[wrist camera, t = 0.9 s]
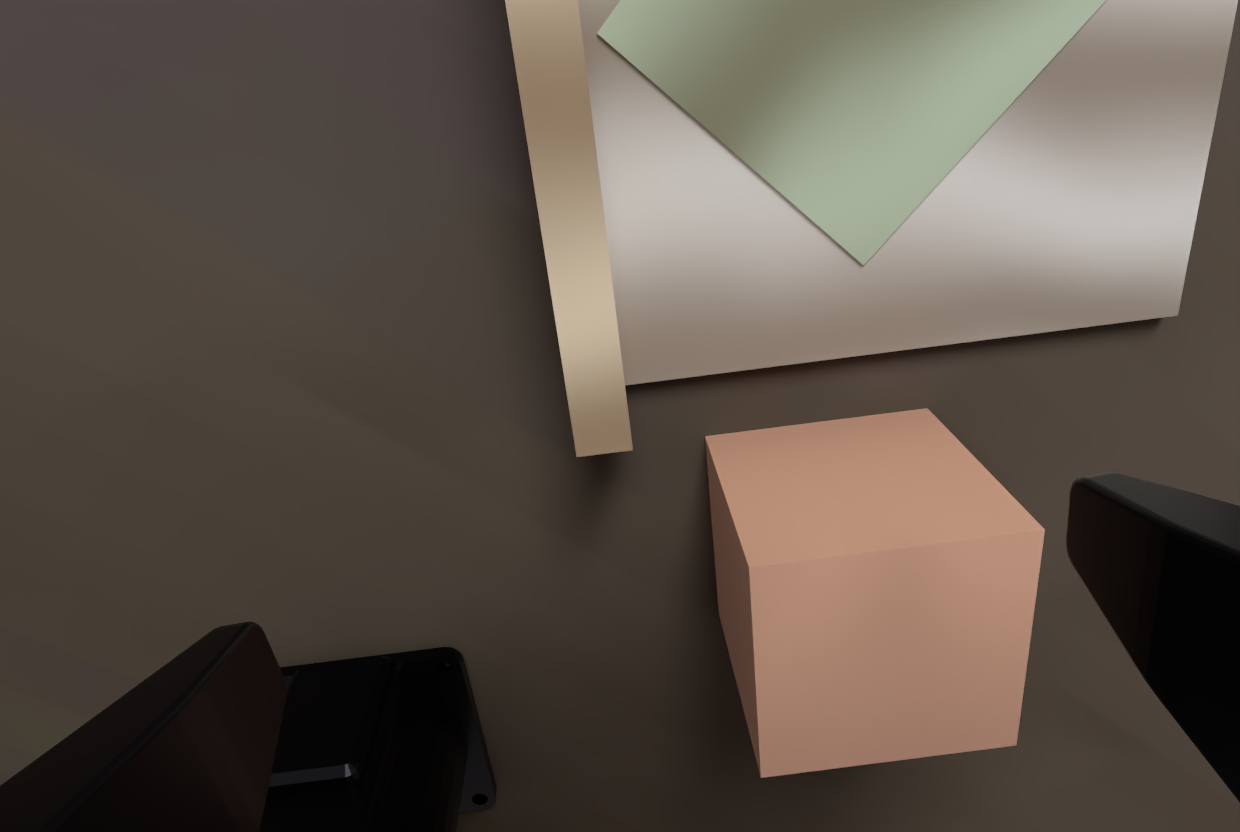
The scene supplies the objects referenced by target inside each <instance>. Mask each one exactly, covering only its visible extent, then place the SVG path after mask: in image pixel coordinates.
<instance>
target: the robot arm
mask: <svg viewBox="0 0 1240 832" xmlns="http://www.w3.org/2000/svg"><path fill="white" fill-rule="evenodd" d="M1066 550H1067V554H1068V557H1069V559H1070V562H1071V564H1072V565H1073V567H1074V569H1075V570H1076V572H1077V574H1078V575H1079V577H1080V578H1081V580H1082V582H1083V583H1084V585H1085V586H1086V588H1087V590H1088V591H1089V593H1090V594H1091V596H1092V598H1093V599H1094V601H1095V602H1096V604H1097V606H1098V607H1099V609H1100V610H1101V612H1102V614H1103V615H1104V617H1105V618H1106V620H1107V622H1108V623H1109V625H1110V626H1111V628H1112V630H1113V631H1114V633H1115V634H1116V636H1117V638H1118V639H1119V641H1120V642H1121V644H1122V646H1123V647H1124V649H1125V650H1126V652H1127V654H1128V655H1129V657H1130V658H1131V660H1132V662H1133V663H1134V664H1135V666H1136V667H1137V669H1138V670H1139V672H1140V673H1141V675H1142V676H1143V678H1144V679H1145V681H1146V682H1147V684H1148V685H1149V686H1150V688H1151V689H1152V690H1153V692H1154V693H1155V694H1156V696H1157V697H1158V698H1159V700H1160V701H1161V702H1162V704H1163V705H1164V706H1165V707H1166V709H1167V710H1168V711H1169V712H1170V714H1171V715H1172V716H1173V718H1174V719H1175V720H1176V721H1177V723H1178V724H1179V725H1180V727H1181V728H1182V729H1183V730H1184V732H1185V733H1186V734H1187V736H1188V737H1189V738H1190V739H1191V741H1192V742H1193V743H1194V744H1195V746H1196V747H1197V748H1198V750H1199V751H1200V752H1201V753H1202V755H1203V756H1204V757H1205V759H1206V760H1207V761H1208V762H1209V764H1210V765H1211V766H1212V768H1213V769H1214V770H1215V771H1216V773H1217V774H1218V775H1219V776H1220V778H1221V779H1222V780H1223V782H1224V783H1225V784H1226V785H1227V787H1228V788H1229V789H1230V791H1231V792H1232V793H1233V794H1234V796H1235V797H1236V798H1237V800H1238V801H1239V802H1240V506H1237V505H1233V504H1230V503H1226V502H1223V501H1219V500H1215V499H1212V498H1208V497H1205V496H1201V495H1198V494H1194V493H1190V492H1187V491H1183V490H1180V489H1176V488H1173V487H1169V486H1165V485H1162V484H1158V483H1155V482H1151V481H1148V480H1144V479H1140V478H1137V477H1133V476H1130V475H1126V474H1122V473H1119V472H1105V473H1100V474H1094V475H1088V476H1083V477H1079V478H1077V479H1076V480H1075V481H1074V482H1073V483H1072V485H1071V487H1070V492H1069V503H1068V516H1067V528H1066ZM441 663H448V664H449V665H451V666H449V667H444V666H442V665H440V664H441ZM495 798H496V784H495V780H494V776H493V772H492V768H491V765H490V761H489V757H488V753H487V749H486V745H485V741H484V737H483V733H482V730H481V726H480V722H479V718H478V714H477V710H476V706H475V702H474V699H473V695H472V691H471V687H470V683H469V679H468V675H467V671H466V667H465V664H464V660H463V657H462V655H461V653H459V652H458V651H457V650H455V649H453V648H450V647H441V648H433V649H426V650H418V651H410V652H402V653H394V654H386V655H378V656H370V657H362V658H354V659H346V660H338V661H330V662H322V663H314V664H306V665H298V666H290V667H282V668H280V667H279V665H278V662H277V660H276V658H275V656H274V653H273V651H272V649H271V647H270V644H269V642H268V640H267V638H266V635H265V633H264V631H263V630H262V628H261V627H260V626H259V625H258V624H256V623H254V622H244V623H238V624H232V625H226V626H221V627H218V628H215V629H214V630H212V631H211V632H209V633H208V634H207V635H205V636H204V637H203V638H201V639H200V640H199V641H197V642H196V643H194V644H193V645H192V646H190V647H189V648H188V649H186V650H185V651H184V652H182V653H181V654H179V655H178V656H177V657H175V658H174V659H173V660H171V661H170V662H169V663H167V664H166V665H164V666H163V667H162V668H160V669H159V670H158V671H156V672H155V673H154V674H152V675H151V676H149V677H148V678H147V679H145V680H144V681H143V682H141V683H140V684H139V685H137V686H136V687H134V688H133V689H132V690H130V691H129V692H128V693H126V694H125V695H124V696H122V697H121V698H119V699H118V700H117V701H115V702H114V703H113V704H111V705H110V706H109V707H107V708H106V709H104V710H103V711H102V712H100V713H99V714H98V715H96V716H95V717H93V718H92V719H91V720H89V721H88V722H87V723H85V724H84V725H83V726H81V727H80V728H78V729H77V730H76V731H74V732H73V733H72V734H70V735H69V736H68V737H66V738H65V739H63V740H62V741H61V742H59V743H58V744H57V745H55V746H54V747H53V748H51V749H50V750H48V751H47V752H46V753H44V754H43V755H42V756H40V757H39V758H38V759H36V760H35V761H33V762H32V763H31V764H29V765H28V766H27V767H25V768H24V769H23V770H21V771H20V772H18V773H17V774H16V775H14V776H13V777H12V778H10V779H9V780H8V781H6V782H5V783H3V784H2V785H1V786H0V832H456V830H457V824H458V817H459V813H463V812H471V811H479V810H484V809H488V808H490V807H491V806H493V804H494V803H495Z"/></svg>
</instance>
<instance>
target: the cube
mask: <svg viewBox="0 0 1240 832" xmlns="http://www.w3.org/2000/svg"><path fill="white" fill-rule="evenodd" d="M705 443H706V456H707V468H708V481H709V494H710V507H711V520H712V533H713V545H714V558H715V571H716V584H717V597H718V609H719V616H720V620H721V624H722V628H723V632H724V636H725V640H726V644H727V648H728V651H729V655H730V659H731V663H732V667H733V671H734V675H735V679H736V683H737V687H738V690H739V694H740V698H741V702H742V706H743V710H744V714H745V718H746V722H747V726H748V729H749V733H750V737H751V741H752V745H753V749H754V753H755V757H756V761H757V765H758V769H759V772H760V776H761V778H764V777H772V776H780V775H788V774H796V773H803V772H811V771H819V770H827V769H835V768H843V767H850V766H858V765H866V764H874V763H882V762H890V761H897V760H905V759H913V758H921V757H929V756H937V755H945V754H952V753H960V752H968V751H976V750H984V749H992V748H999V747H1007V746H1015V745H1016V744H1017V736H1018V729H1019V721H1020V714H1021V706H1022V699H1023V691H1024V684H1025V676H1026V668H1027V661H1028V653H1029V646H1030V638H1031V631H1032V623H1033V616H1034V608H1035V600H1036V593H1037V585H1038V578H1039V570H1040V563H1041V555H1042V548H1043V540H1044V533H1045V529H1044V528H1043V527H1042V526H1041V525H1040V524H1039V523H1038V522H1037V521H1036V520H1035V519H1034V518H1033V517H1032V516H1031V515H1030V514H1029V513H1028V512H1027V511H1026V510H1025V509H1024V508H1023V507H1022V506H1021V505H1020V504H1019V503H1018V502H1017V500H1016V499H1015V498H1014V497H1013V496H1012V495H1011V494H1010V493H1009V492H1008V491H1007V490H1006V489H1005V488H1004V487H1003V486H1002V485H1001V484H1000V483H999V482H998V481H997V480H996V479H995V478H994V477H993V476H992V475H991V474H990V473H989V472H988V470H987V469H986V468H985V467H984V466H983V465H982V464H981V463H980V462H979V461H978V460H977V459H976V458H975V457H974V456H973V455H972V454H971V453H970V452H969V451H968V450H967V449H966V448H965V447H964V446H963V445H962V444H961V443H960V442H959V440H958V439H957V438H956V437H955V436H954V435H953V434H952V433H951V432H950V431H949V430H948V429H947V428H946V427H945V426H944V425H943V424H942V423H941V422H940V421H939V420H938V419H937V418H936V417H935V416H934V415H933V414H932V413H931V412H930V411H929V409H928V408H926V409H918V410H910V411H902V412H894V413H886V414H878V415H871V416H863V417H855V418H847V419H839V420H831V421H823V422H815V423H807V424H799V425H791V426H783V427H776V428H768V429H760V430H752V431H744V432H736V433H728V434H720V435H712V436H705Z"/></svg>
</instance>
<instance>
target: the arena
mask: <svg viewBox="0 0 1240 832" xmlns="http://www.w3.org/2000/svg"><path fill="white" fill-rule="evenodd" d="M505 4H506V10H507V17H508V23H509V29H510V36H511V42H512V48H513V55H514V61H515V68H516V74H517V80H518V87H519V93H520V99H521V106H522V112H523V118H524V125H525V131H526V138H527V144H528V150H529V157H530V163H531V169H532V176H533V182H534V189H535V195H536V201H537V208H538V214H539V220H540V227H541V233H542V239H543V246H544V252H545V259H546V265H547V271H548V278H549V284H550V290H551V297H552V303H553V310H554V316H555V322H556V329H557V335H558V341H559V348H560V354H561V360H562V367H563V373H564V380H565V386H566V392H567V399H568V405H569V411H570V418H571V424H572V431H573V437H574V443H575V450H576V456H577V457H582V456H590V455H598V454H606V453H614V452H622V451H630V450H633V447H632V439H631V430H630V422H629V414H628V406H627V398H626V390H625V385H633V384H641V383H648V382H656V381H664V380H672V379H680V378H688V377H696V376H704V375H712V374H720V373H728V372H735V371H743V370H751V369H759V368H767V367H775V366H783V365H791V364H799V363H807V362H814V361H822V360H830V359H838V358H846V357H854V356H862V355H870V354H878V353H886V352H894V351H901V350H909V349H917V348H925V347H933V346H941V345H949V344H957V343H965V342H973V341H980V340H988V339H996V338H1004V337H1012V336H1020V335H1028V334H1036V333H1044V332H1052V331H1060V330H1067V329H1075V328H1083V327H1091V326H1099V325H1107V324H1115V323H1123V322H1131V321H1139V320H1146V319H1154V318H1162V317H1170V316H1178V311H1179V306H1180V301H1181V295H1182V290H1183V285H1184V280H1185V275H1186V269H1187V264H1188V259H1189V254H1190V249H1191V243H1192V238H1193V233H1194V228H1195V222H1196V217H1197V212H1198V207H1199V202H1200V196H1201V191H1202V186H1203V181H1204V176H1205V170H1206V165H1207V160H1208V155H1209V150H1210V144H1211V139H1212V134H1213V129H1214V123H1215V118H1216V113H1217V108H1218V103H1219V97H1220V92H1221V87H1222V82H1223V77H1224V71H1225V66H1226V61H1227V56H1228V51H1229V45H1230V40H1231V35H1232V30H1233V25H1234V19H1235V14H1236V9H1237V4H1238V0H505Z"/></svg>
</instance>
